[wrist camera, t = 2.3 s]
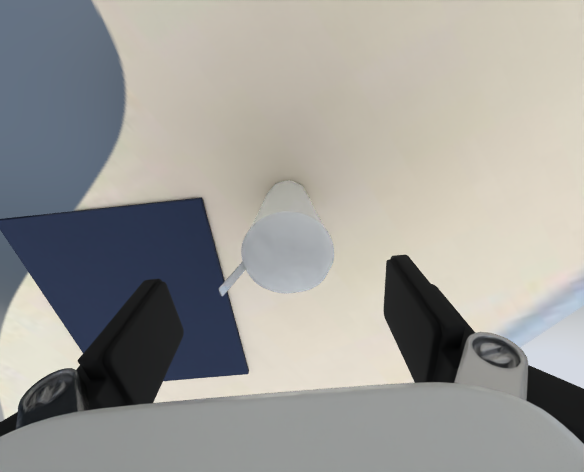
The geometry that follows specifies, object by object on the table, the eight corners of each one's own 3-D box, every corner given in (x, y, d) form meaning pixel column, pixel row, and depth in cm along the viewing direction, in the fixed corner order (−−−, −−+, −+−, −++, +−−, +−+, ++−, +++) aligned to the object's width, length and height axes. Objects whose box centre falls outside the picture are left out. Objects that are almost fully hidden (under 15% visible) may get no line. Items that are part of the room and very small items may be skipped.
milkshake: (239, 181, 20) (199, 249, 11) (311, 164, 19) (332, 220, 10) (257, 234, 22) (235, 329, 13) (322, 220, 21) (347, 309, 12)
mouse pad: (-2, 218, 21) (-6, 221, 20) (202, 197, 20) (200, 199, 20) (107, 382, 30) (105, 386, 29) (248, 370, 29) (248, 374, 29)
